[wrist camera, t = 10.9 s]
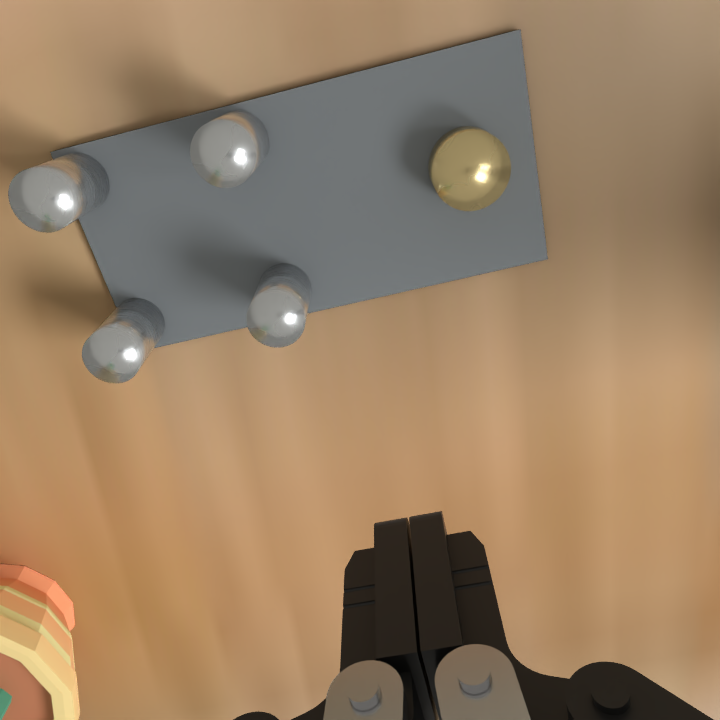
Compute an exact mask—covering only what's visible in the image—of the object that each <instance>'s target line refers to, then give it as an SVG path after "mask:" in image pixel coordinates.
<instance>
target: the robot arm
mask: <svg viewBox="0 0 720 720" xmlns="http://www.w3.org/2000/svg"><path fill="white" fill-rule="evenodd" d="M409 523H410V525H409ZM343 607H344V609H343V619H342V641H341V663H340V673H339V674H338V675H337V676H336V678H335V679H334V680H333V682H332V683H331V685H330V687H329V690H328V693H327V697H326V699H325V700H324V701H322V702H321V703H320V704H319V705H318V706H316V707H315V708H313V709H312V710H310V711H308V712H306V713H304V714H302V715H300V716H298V717H296V718H294V719H291V720H713V719H712V718H710V717H708V716H707V715H705V714H704V713H702V712H701V711H699V710H697V709H696V708H694V707H693V706H691V705H689V704H688V703H686V702H685V701H683V700H681V699H680V698H678V697H677V696H675V695H674V694H672V693H670V692H669V691H667V690H666V689H664V688H662V687H661V686H659V685H658V684H656V683H654V682H653V681H651V680H650V679H648V678H647V677H645V676H643V675H642V674H640V673H639V672H637V671H635V670H634V669H632V668H630V667H628V666H625V665H622V664H618V663H614V662H596V663H591V664H588V665H586V666H584V667H582V668H580V669H579V670H577V671H576V672H575V673H574V674H573V675H572V677H571V678H570V679H567V678H560V677H554V676H548V675H543V674H540V673H537V672H534V671H532V670H530V669H528V668H527V667H525V666H524V665H522V664H521V663H520V662H519V661H518V660H517V659H516V658H515V657H514V656H513V654H512V653H511V651H510V649H509V647H508V644H507V641H506V637H505V633H504V629H503V624H502V620H501V616H500V612H499V608H498V603H497V599H496V595H495V591H494V586H493V582H492V578H491V574H490V569H489V565H488V561H487V557H486V552H485V548H484V545H483V544H482V543H481V542H480V541H479V540H478V539H477V538H476V537H475V535H474V534H473V533H472V532H471V531H467V532H461V533H455V534H449V535H447V532H446V527H445V523H444V518H443V514H442V511H440V512H434V513H429V514H423V515H417V516H412V517H409V521H408V519H407V518H401V519H396V520H390V521H384V522H379V523H375V524H374V548H370V549H364V550H358V551H355V552H354V554H353V555H352V557H351V559H350V561H349V563H348V565H347V567H346V568H345V575H344V597H343ZM234 720H279V719H277V718H276V717H275V716H273V715H271V714H269V713H266V712H251V713H247V714H244V715H241V716H239V717H237V718H235V719H234Z"/></svg>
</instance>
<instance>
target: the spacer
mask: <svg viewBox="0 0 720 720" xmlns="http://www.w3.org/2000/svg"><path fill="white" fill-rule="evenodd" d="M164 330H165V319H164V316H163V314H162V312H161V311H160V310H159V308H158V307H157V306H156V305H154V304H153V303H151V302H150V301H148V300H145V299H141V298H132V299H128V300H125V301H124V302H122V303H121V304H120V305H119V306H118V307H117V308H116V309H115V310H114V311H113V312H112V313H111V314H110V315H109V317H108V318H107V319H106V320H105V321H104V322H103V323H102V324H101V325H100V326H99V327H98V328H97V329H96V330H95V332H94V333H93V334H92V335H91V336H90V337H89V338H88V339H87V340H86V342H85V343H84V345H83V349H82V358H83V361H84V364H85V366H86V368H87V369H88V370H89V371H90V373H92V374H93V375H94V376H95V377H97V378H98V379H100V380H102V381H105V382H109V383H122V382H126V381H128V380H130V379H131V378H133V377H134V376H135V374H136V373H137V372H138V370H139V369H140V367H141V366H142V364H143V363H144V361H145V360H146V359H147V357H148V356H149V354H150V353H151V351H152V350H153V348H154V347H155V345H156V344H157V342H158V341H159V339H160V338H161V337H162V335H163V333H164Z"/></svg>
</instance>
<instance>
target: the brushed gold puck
mask: <svg viewBox="0 0 720 720" xmlns="http://www.w3.org/2000/svg"><path fill="white" fill-rule="evenodd" d="M428 171H429V177H430V180H431V182H432V185H433V187H434V188H435V190H436V192H437V194H438V195H439V197H440V198H441V199H442V200H443V201H444V202H445V203H446V204H447V205H449V206H451V207H453V208H455V209H457V210H461V211H476V210H480V209H483V208H485V207H487V206H489V205H491V204H492V203H494V202H495V201H496V200H497V199H498V198H499V197H500V196H501V195H502V193H503V192H504V191H505V189H506V187H507V185H508V182H509V179H510V174H511V161H510V157H509V154H508V151H507V149H506V148H505V146H504V145H503V143H502V142H501V141H500V140H499V139H498V138H496V137H495V136H493V135H492V134H490V133H489V132H487V131H485V130H483V129H481V128H478V127H474V126H463V127H458V128H455V129H453V130H451V131H449V132H447V133H446V134H444V135H443V136H442V137H441V138H440V139H439V140H438V141H437V143H436V144H435V146H434V147H433V149H432V152H431V154H430V158H429V164H428Z"/></svg>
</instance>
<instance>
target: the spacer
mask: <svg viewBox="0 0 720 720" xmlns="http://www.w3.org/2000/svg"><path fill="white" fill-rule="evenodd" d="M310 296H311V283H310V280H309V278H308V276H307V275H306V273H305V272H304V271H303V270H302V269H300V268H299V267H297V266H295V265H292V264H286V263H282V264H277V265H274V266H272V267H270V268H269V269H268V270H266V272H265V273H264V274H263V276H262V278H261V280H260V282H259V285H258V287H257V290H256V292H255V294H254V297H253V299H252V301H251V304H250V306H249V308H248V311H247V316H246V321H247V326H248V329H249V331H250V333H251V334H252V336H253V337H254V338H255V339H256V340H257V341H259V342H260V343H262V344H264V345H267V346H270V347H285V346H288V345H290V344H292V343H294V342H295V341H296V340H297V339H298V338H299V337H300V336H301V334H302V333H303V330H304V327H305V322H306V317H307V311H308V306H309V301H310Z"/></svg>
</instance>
